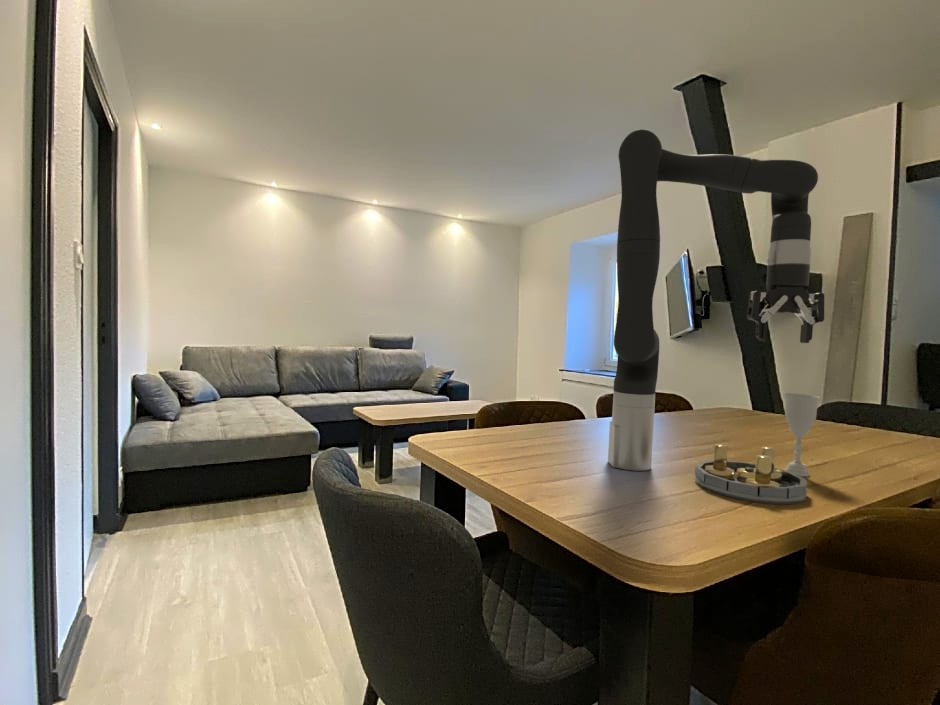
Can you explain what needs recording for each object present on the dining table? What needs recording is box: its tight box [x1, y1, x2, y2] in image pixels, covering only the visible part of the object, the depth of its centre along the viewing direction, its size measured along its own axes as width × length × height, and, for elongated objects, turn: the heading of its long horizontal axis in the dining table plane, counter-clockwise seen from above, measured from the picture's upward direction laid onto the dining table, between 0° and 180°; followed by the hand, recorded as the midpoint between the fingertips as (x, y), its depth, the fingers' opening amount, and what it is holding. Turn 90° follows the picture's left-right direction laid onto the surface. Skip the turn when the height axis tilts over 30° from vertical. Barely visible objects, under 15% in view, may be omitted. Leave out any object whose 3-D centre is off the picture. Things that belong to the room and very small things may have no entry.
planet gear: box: [746, 454, 779, 487], centre depth 98 cm, size 6×6×7 cm
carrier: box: [694, 443, 808, 505], centre depth 104 cm, size 20×20×8 cm
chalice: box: [783, 393, 821, 477], centre depth 116 cm, size 7×7×18 cm
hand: (783, 342), depth 106 cm, fingers open, 8 cm apart
